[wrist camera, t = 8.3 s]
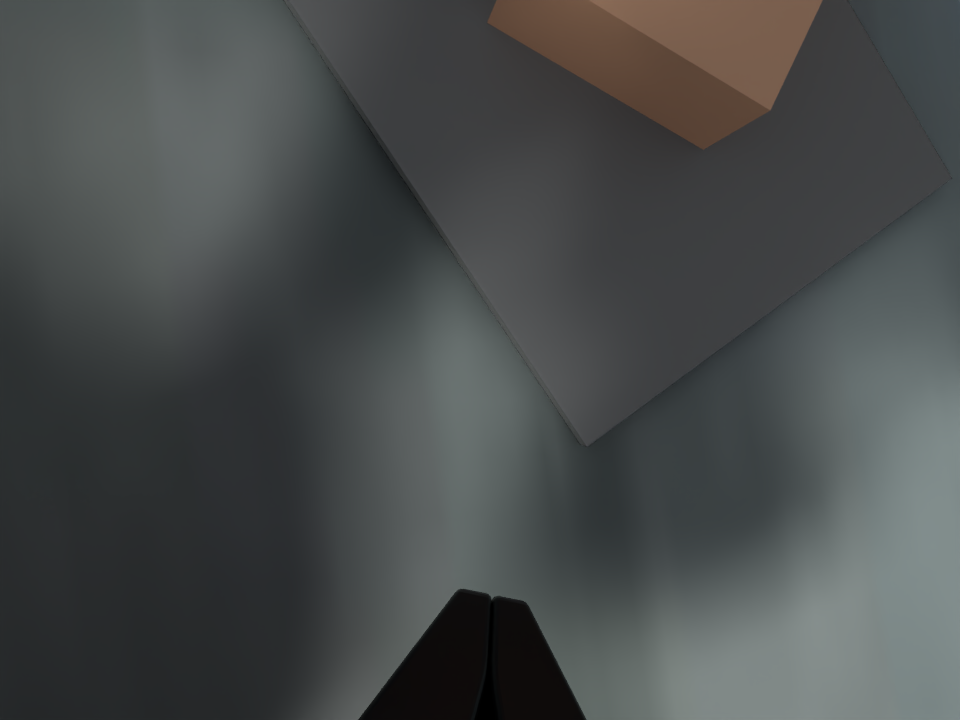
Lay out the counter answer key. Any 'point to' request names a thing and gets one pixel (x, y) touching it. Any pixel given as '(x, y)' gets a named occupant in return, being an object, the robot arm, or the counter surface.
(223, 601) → the counter surface
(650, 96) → the card box
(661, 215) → the mat
